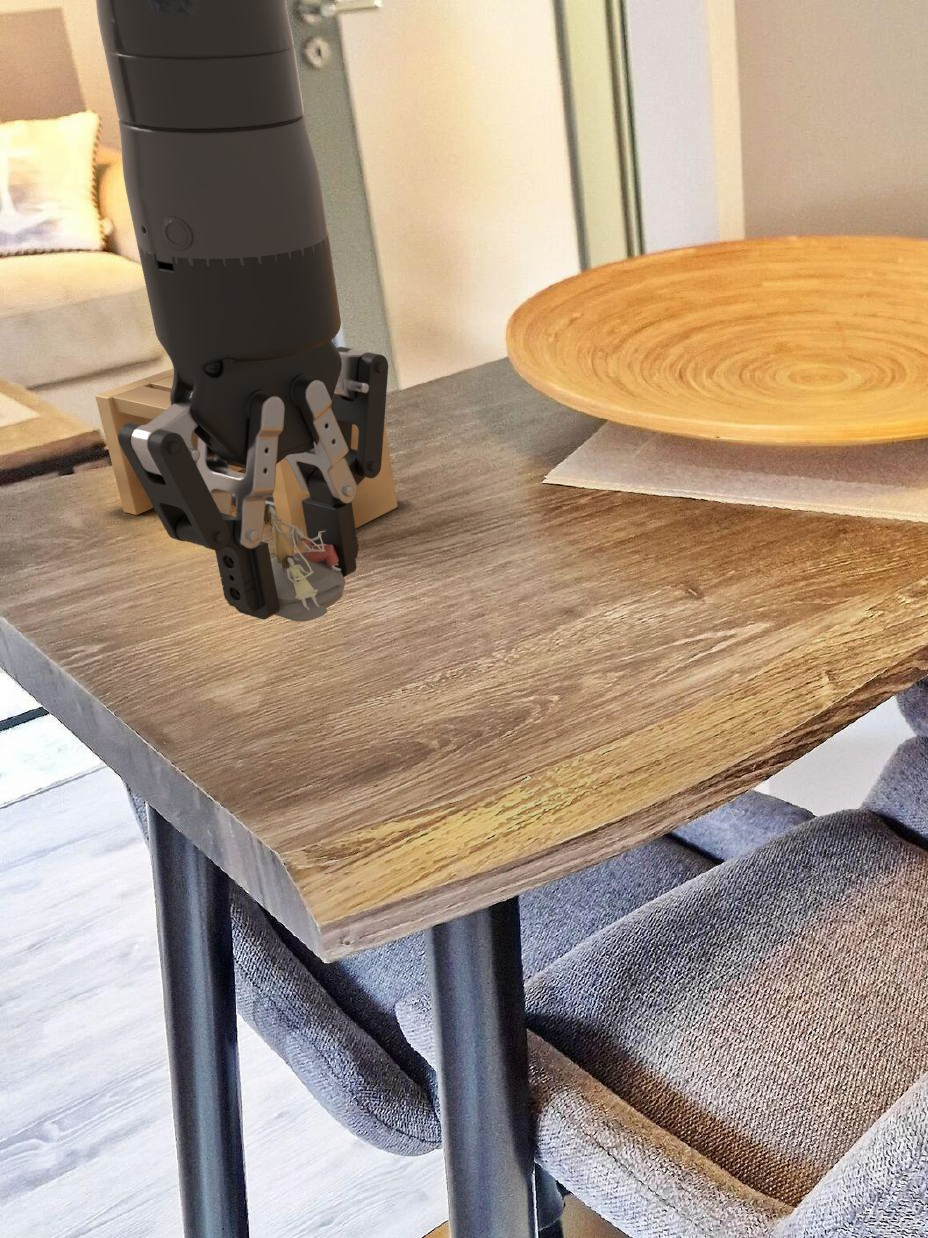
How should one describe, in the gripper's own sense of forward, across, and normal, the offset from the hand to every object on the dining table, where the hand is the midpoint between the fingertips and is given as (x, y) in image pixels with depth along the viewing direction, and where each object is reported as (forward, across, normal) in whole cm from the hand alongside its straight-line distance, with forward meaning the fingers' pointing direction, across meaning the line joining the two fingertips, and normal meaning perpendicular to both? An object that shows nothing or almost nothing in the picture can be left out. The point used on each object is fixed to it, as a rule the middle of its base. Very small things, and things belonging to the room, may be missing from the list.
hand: (296, 590), depth 71 cm
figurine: (+2, 0, 0) cm, 2 cm away
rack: (+8, -19, -23) cm, 31 cm away
